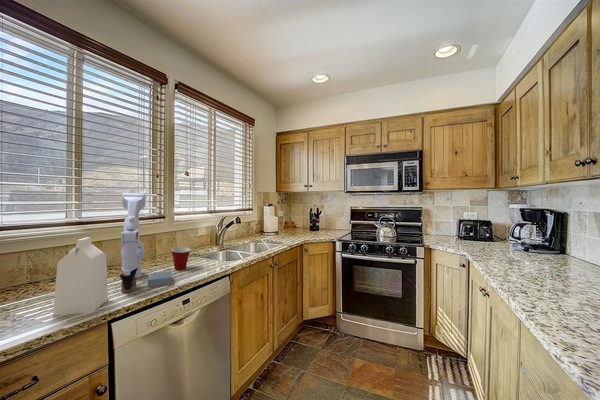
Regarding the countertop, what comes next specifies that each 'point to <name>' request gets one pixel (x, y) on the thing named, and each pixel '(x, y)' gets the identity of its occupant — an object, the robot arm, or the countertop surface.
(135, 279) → the walnut cube
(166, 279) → the slate block
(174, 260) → the plastic cup
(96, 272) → the milk
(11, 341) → the countertop surface
